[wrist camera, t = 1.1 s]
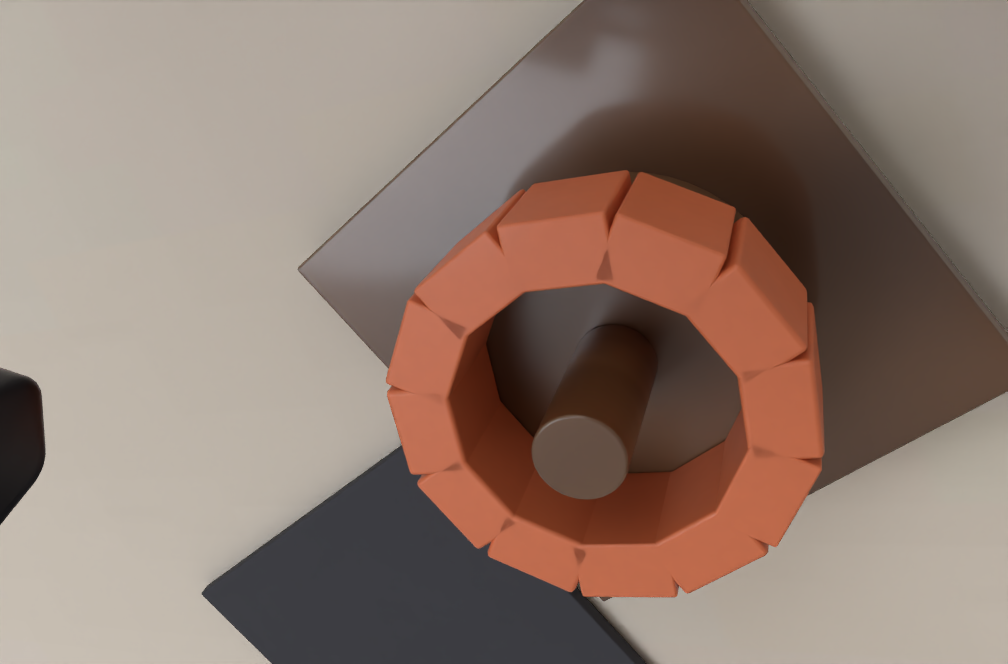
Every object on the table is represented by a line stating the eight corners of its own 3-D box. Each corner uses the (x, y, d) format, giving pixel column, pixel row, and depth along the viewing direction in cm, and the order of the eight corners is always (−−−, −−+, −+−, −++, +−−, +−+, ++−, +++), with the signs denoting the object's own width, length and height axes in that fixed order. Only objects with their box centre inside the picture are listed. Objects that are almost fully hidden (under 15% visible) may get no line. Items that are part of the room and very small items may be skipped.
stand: (1024, 355, 19) (1117, 558, 13) (610, 576, 24) (552, 789, 19) (679, -86, 17) (621, -66, 12) (315, 254, 23) (153, 381, 17)
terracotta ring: (904, 407, 17) (918, 481, 15) (595, 574, 21) (572, 653, 19) (642, 86, 16) (617, 119, 14) (363, 321, 19) (311, 375, 17)
